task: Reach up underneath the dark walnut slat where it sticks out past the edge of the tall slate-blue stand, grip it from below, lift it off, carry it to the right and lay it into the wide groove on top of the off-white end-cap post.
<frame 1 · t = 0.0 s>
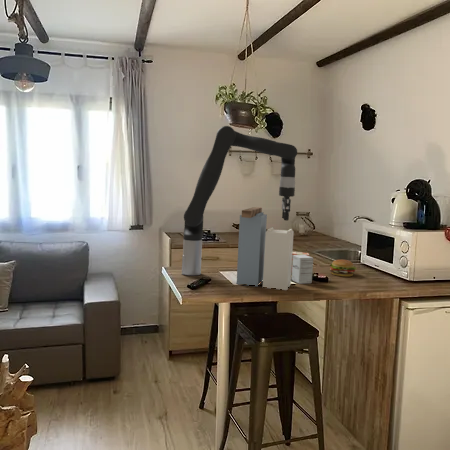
hand: (285, 219, 234), 29 cm above the table, tool pointing down, fingers open, 8 cm apart
supplement box: (301, 282, 232), on the table
slate stand: (250, 282, 226), on the table
walnut slat: (252, 215, 219), point 32 cm above the table, touching slate stand
food: (342, 275, 253), on the table
stack of blocks: (286, 276, 244), on the table
end-cap post: (276, 286, 220), on the table
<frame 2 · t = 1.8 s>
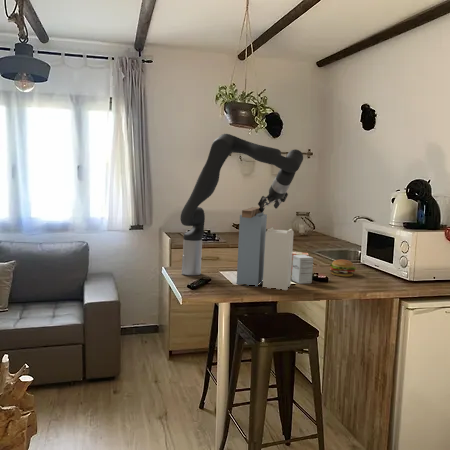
hand: (268, 209, 227), 35 cm above the table, tool tilted 45°, fingers open, 8 cm apart
nothing on the table moved.
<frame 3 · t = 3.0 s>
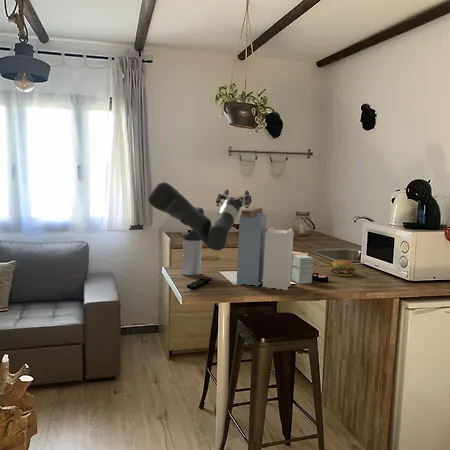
hand: (237, 191, 205), 43 cm above the table, tool pointing upward, fingers open, 8 cm apart
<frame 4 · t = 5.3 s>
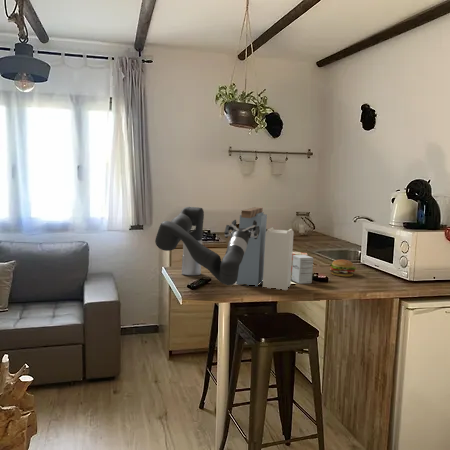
hand: (245, 221, 205), 30 cm above the table, tool pointing upward, fingers open, 8 cm apart
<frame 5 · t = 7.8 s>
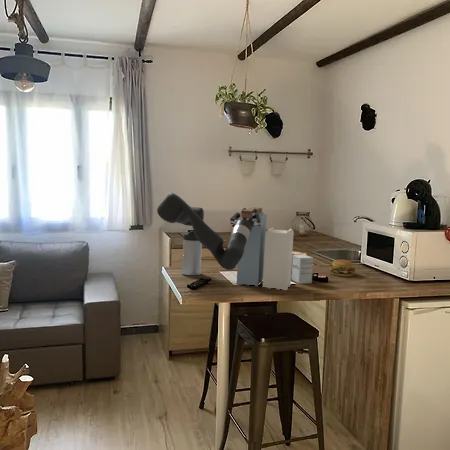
hand: (250, 209, 213), 35 cm above the table, tool pointing upward, fingers closed on walnut slat, 4 cm apart
walnut slat: (252, 215, 218), point 32 cm above the table, touching gripper, slate stand
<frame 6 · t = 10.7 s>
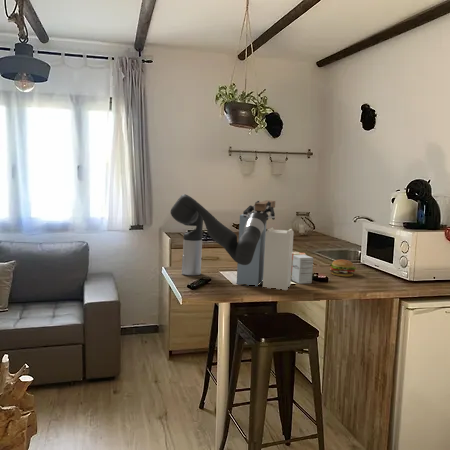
hand: (263, 202, 206), 39 cm above the table, tool pointing upward, fingers closed on walnut slat, 4 cm apart
walnut slat: (265, 208, 210), point 36 cm above the table, touching gripper
when the fingers open (30 cm above the table, at t = 13.8 s): walnut slat drops 1 cm, resting on end-cap post.
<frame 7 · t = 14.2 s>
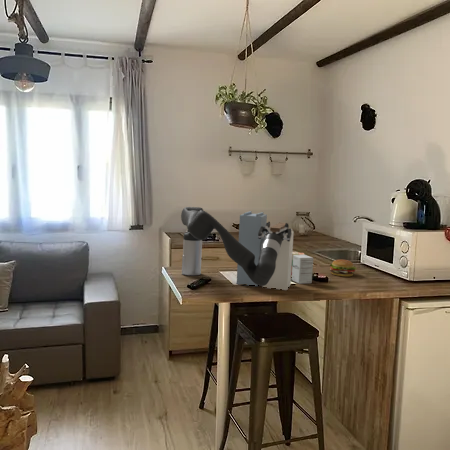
hand: (278, 223, 210), 30 cm above the table, tool pointing upward, fingers open, 7 cm apart
walnut slat: (279, 231, 215), point 25 cm above the table, touching end-cap post
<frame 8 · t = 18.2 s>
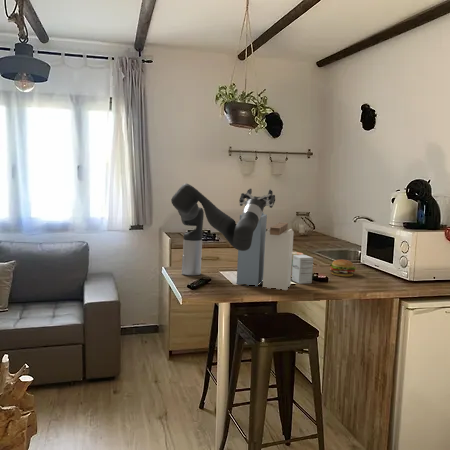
hand: (260, 190, 203), 44 cm above the table, tool pointing upward, fingers open, 8 cm apart
at the end: walnut slat inside the target area on the end-cap post (1.4 cm from its centre), point 25.5 cm above the end-cap post's base; the gripper is holding nothing; walnut slat touching end-cap post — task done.
